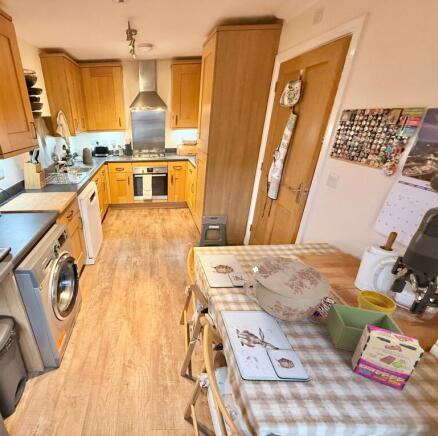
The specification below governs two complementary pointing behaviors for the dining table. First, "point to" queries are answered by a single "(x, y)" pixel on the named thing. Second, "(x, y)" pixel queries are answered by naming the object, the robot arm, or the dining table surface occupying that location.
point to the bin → (355, 324)
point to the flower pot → (376, 302)
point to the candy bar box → (386, 356)
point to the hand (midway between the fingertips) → (404, 301)
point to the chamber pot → (287, 287)
